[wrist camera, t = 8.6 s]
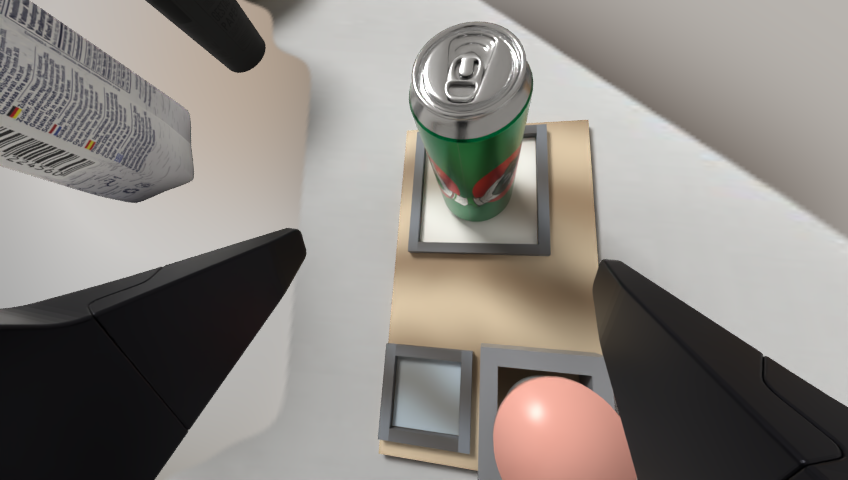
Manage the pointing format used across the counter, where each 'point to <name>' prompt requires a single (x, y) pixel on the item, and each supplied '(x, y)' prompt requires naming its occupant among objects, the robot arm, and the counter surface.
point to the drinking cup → (217, 29)
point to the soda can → (472, 114)
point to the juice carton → (84, 113)
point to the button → (559, 433)
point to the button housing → (533, 359)
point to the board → (485, 291)
